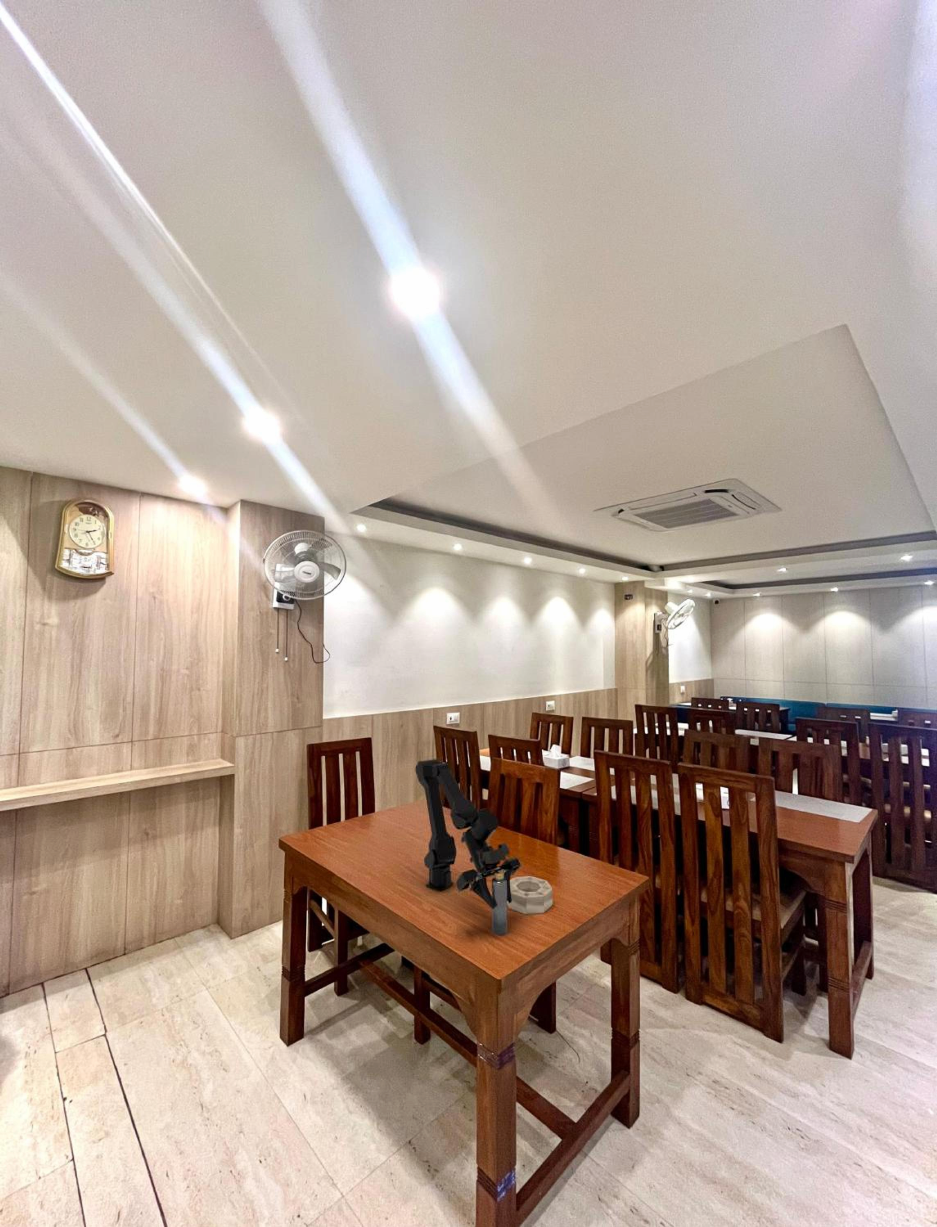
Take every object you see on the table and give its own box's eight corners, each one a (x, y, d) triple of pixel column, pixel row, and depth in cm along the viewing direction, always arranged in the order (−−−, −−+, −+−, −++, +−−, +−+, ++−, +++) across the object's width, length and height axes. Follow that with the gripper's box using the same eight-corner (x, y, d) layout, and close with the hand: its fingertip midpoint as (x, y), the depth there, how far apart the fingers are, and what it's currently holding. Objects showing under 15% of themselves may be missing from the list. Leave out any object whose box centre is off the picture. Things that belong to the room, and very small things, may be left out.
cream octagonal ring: (498, 904, 147) (498, 889, 148) (520, 887, 158) (520, 873, 158) (538, 918, 140) (537, 901, 140) (558, 899, 150) (557, 883, 151)
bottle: (489, 931, 133) (488, 873, 134) (497, 925, 136) (496, 868, 138) (502, 936, 131) (501, 877, 132) (510, 929, 134) (509, 871, 135)
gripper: (461, 841, 134) (485, 901, 124) (516, 827, 144) (543, 882, 134) (446, 861, 140) (468, 920, 130) (500, 847, 150) (524, 900, 140)
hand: (502, 905), depth 133 cm, fingers open, 5 cm apart
